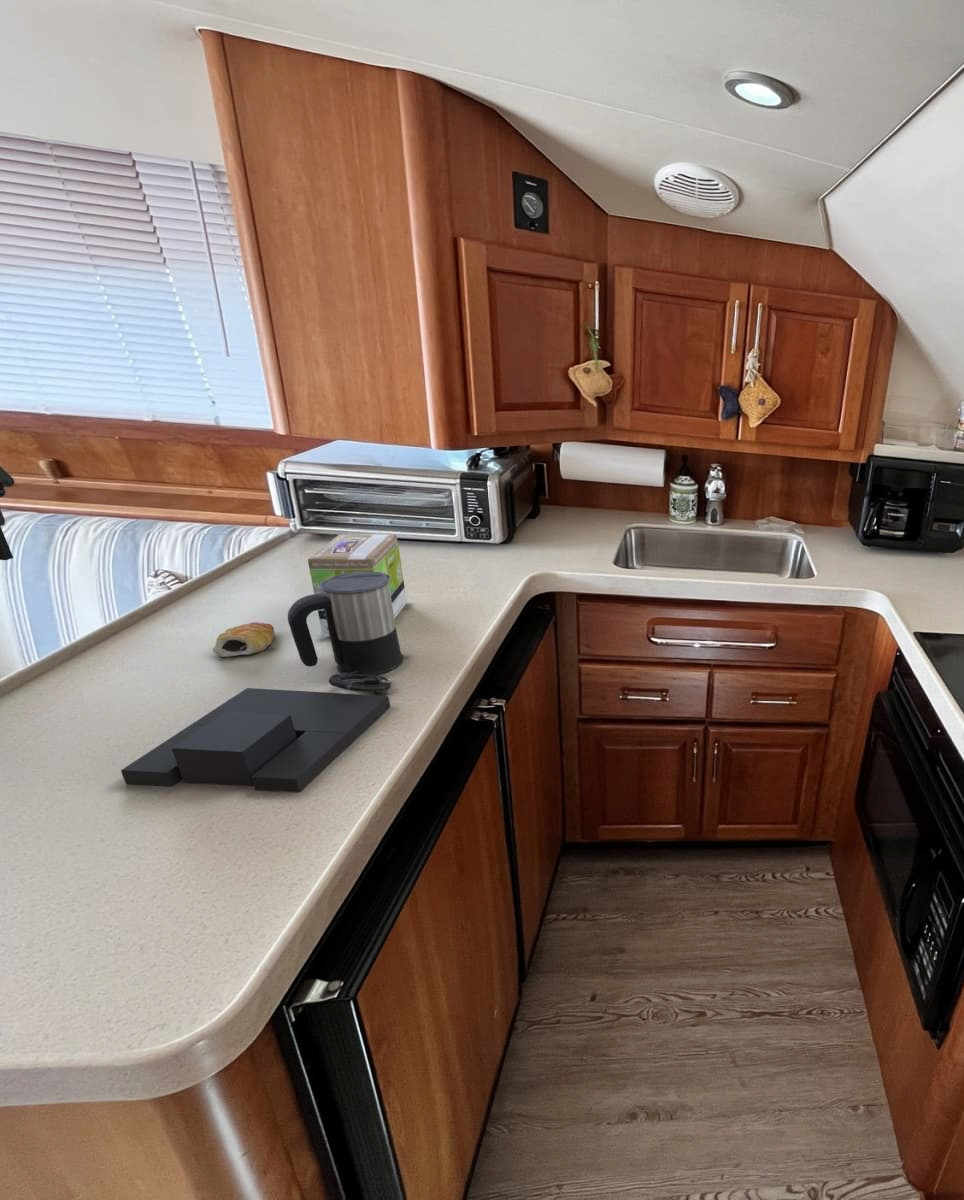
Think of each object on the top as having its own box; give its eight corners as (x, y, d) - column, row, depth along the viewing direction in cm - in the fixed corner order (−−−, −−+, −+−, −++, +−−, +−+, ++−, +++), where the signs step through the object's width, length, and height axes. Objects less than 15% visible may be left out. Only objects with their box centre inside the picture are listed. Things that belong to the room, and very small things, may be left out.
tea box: (386, 635, 114) (372, 557, 108) (321, 638, 111) (303, 558, 105) (409, 602, 127) (397, 532, 121) (351, 604, 124) (336, 532, 118)
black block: (183, 782, 76) (171, 748, 74) (236, 743, 83) (226, 711, 82) (252, 786, 76) (242, 752, 75) (299, 746, 84) (290, 714, 82)
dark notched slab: (125, 784, 75) (120, 770, 74) (250, 699, 93) (246, 687, 92) (300, 792, 76) (296, 778, 75) (390, 707, 94) (388, 695, 93)
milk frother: (382, 646, 110) (367, 566, 104) (443, 671, 104) (430, 588, 98) (291, 680, 98) (268, 592, 92) (354, 711, 92) (333, 618, 86)
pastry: (241, 633, 110) (236, 613, 109) (287, 632, 112) (282, 612, 111) (211, 658, 102) (205, 637, 100) (261, 656, 104) (256, 636, 102)
